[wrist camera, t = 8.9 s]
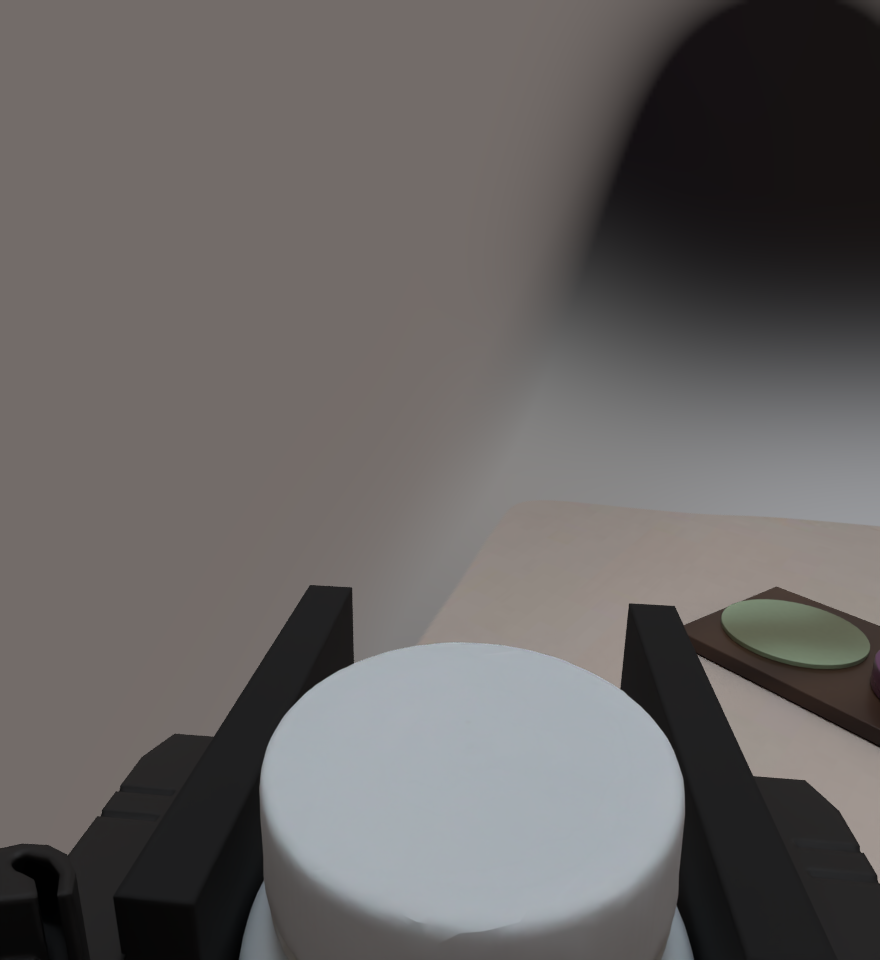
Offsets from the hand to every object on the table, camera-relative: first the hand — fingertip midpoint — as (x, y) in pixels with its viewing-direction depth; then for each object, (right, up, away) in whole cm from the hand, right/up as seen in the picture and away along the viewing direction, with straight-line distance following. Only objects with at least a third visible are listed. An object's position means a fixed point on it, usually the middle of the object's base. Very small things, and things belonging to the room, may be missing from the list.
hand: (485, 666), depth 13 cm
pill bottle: (-1, -7, -3) cm, 8 cm away
